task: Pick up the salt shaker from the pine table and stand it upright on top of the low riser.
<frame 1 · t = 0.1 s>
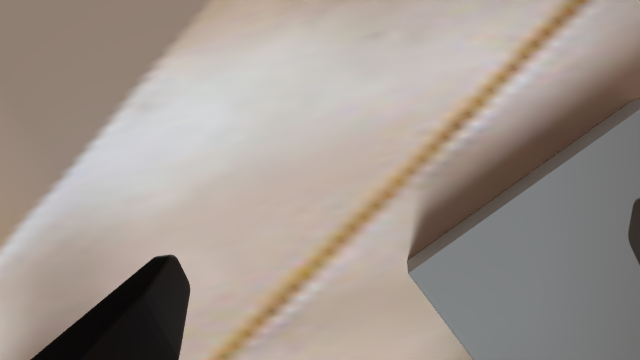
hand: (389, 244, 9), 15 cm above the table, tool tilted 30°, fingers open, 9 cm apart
riser: (600, 292, 22), on the table
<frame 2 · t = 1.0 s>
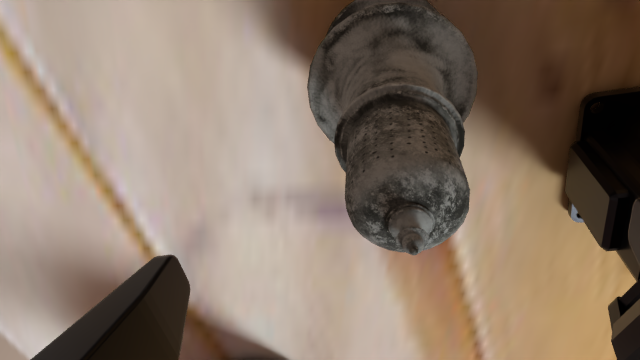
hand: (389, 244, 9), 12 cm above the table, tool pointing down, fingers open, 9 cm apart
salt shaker: (386, 56, 20), on the table
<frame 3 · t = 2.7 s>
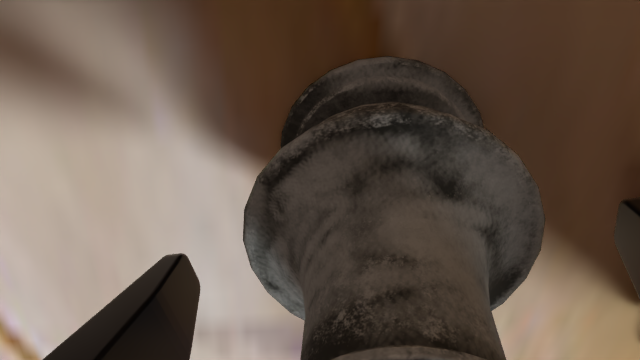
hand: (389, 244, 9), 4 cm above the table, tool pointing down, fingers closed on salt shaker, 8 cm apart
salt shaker: (380, 151, 12), on the table, touching gripper
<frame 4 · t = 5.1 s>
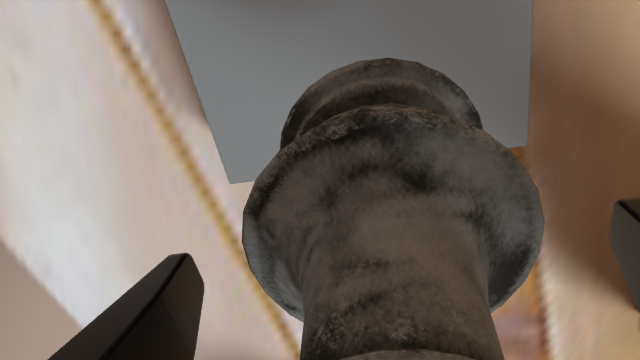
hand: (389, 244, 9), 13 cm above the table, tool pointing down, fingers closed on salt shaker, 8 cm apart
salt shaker: (379, 152, 12), point 10 cm above the table, touching gripper
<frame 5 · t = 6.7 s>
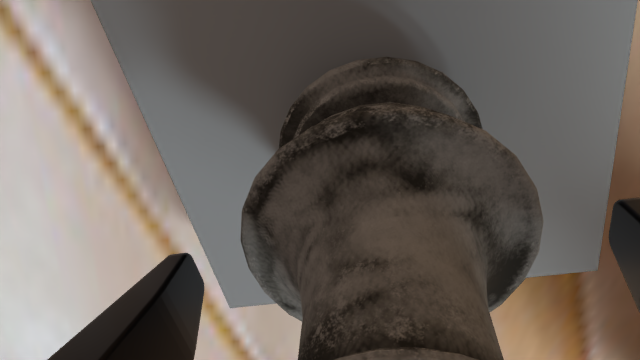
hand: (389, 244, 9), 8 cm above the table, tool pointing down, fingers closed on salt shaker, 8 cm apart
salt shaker: (378, 152, 12), point 4 cm above the table, touching gripper
riser: (372, 89, 16), on the table
when the fingers open (8 cm above the table, at t = 7.9 s): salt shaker drops 1 cm, resting on riser.
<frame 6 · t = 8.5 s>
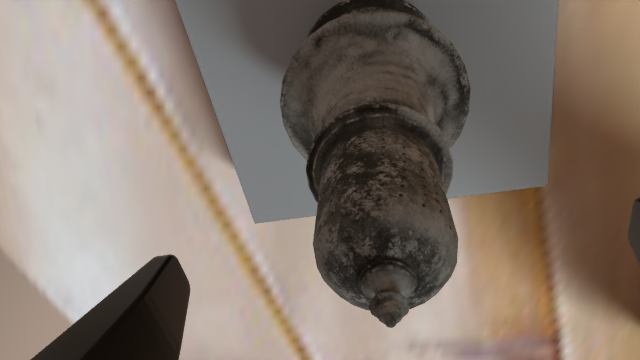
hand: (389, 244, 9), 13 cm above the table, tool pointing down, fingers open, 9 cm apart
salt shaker: (370, 66, 18), point 3 cm above the table, touching riser
riser: (370, 42, 20), on the table
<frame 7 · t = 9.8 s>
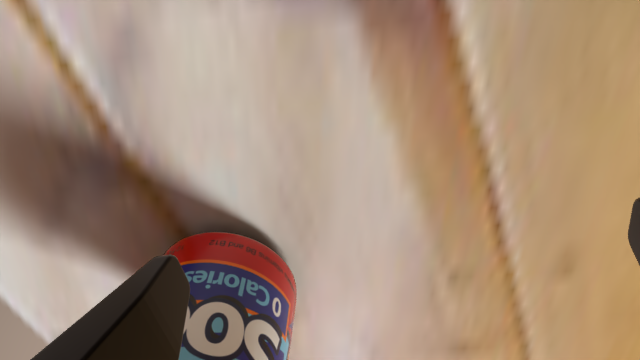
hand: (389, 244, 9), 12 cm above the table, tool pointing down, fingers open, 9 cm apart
soda can: (231, 272, 27), on the table
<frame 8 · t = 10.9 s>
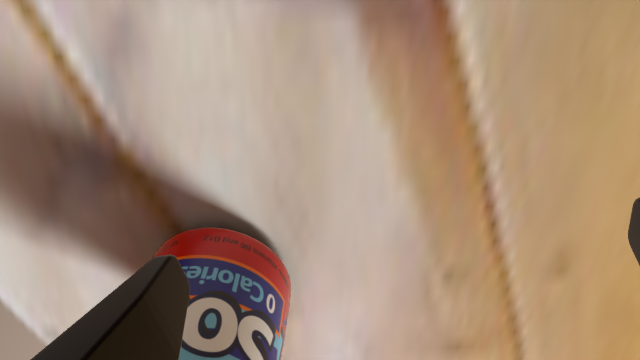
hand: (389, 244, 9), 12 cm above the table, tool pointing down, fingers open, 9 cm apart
soda can: (225, 268, 27), on the table
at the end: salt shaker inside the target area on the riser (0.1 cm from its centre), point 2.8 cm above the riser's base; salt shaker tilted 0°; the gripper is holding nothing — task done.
